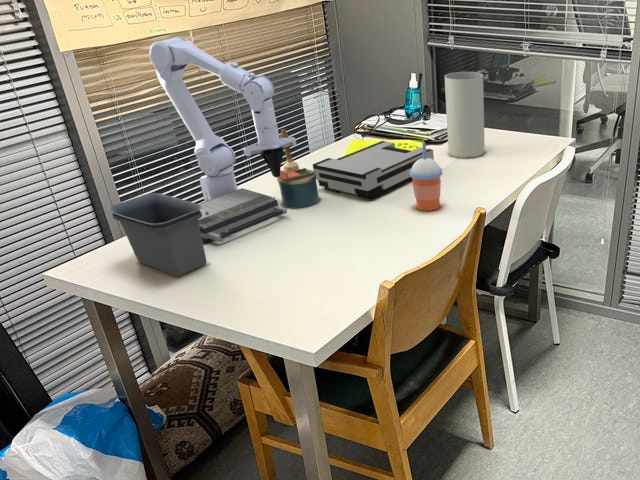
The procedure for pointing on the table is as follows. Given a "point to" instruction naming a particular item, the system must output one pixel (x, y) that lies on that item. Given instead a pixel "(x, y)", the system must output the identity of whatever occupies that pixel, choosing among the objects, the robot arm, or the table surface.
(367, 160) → the game console
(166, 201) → the storage bin
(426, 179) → the cup with straw
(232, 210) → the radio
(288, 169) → the hand bell
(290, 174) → the slider
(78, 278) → the table surface
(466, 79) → the cylinder vase
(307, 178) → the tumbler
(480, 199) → the table surface
